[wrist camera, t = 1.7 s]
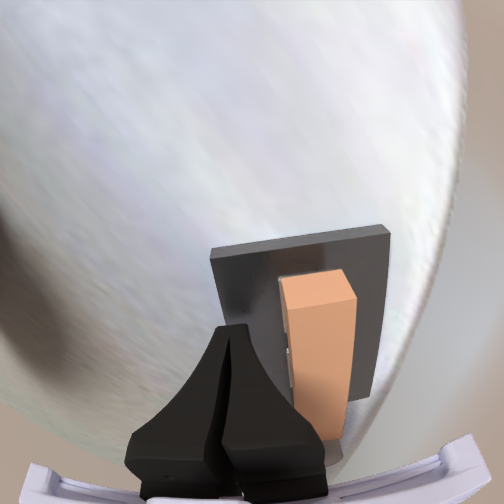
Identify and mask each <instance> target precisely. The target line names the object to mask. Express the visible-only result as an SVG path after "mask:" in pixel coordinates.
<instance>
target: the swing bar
mask: <svg viewBox="0 0 504 504" xmlns="http://www.w3.org/2000/svg"><path fill="white" fill-rule="evenodd" d="M281 282H282V291H283V300H284V309H285V318H286V327H287V337H288V347H289V357H290V367H291V377H292V387H293V398H294V408H295V409H296V410H297V411H298V412H299V413H300V414H301V415H302V416H303V417H304V418H305V419H306V420H308V421H309V422H310V423H311V424H312V426H313V428H314V429H315V431H316V432H317V434H318V435H319V437H320V439H321V441H322V443H323V445H324V448H325V462H324V464H325V467H328V466H331V465H333V464H335V463H337V462H339V461H340V460H341V459H342V458H343V454H342V449H341V445H340V441H339V439H341V438H342V433H343V427H344V421H345V414H346V408H347V400H348V393H349V385H350V377H351V368H352V358H353V348H354V336H355V323H356V307H357V297H356V295H355V293H354V292H353V290H352V288H351V286H350V284H349V282H348V280H347V278H346V277H345V275H344V273H343V271H342V269H338V270H332V271H326V272H319V273H313V274H306V275H300V276H293V277H287V278H281Z"/></svg>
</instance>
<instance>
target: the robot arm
mask: <svg viewBox="0 0 504 504" xmlns="http://www.w3.org/2000/svg"><path fill="white" fill-rule="evenodd" d="M324 462H325V448H324V445H323V443H322V441H321V439H320V437H319V435H318V434H317V432H316V431H315V429H314V428H313V426H312V424H311V423H310V422H309V421H308V420H306V419H305V418H304V417H303V416H302V415H301V414H300V413H299V412H298V411H297V410H296V409H295V408H294V407H293V406H292V405H291V404H290V403H289V402H288V401H287V400H286V398H285V397H284V396H283V395H282V394H281V393H280V391H279V390H278V389H277V387H276V386H275V385H274V383H273V382H272V380H271V379H270V378H269V376H268V374H267V373H266V371H265V369H264V368H263V366H262V364H261V362H260V360H259V358H258V356H257V354H256V352H255V350H254V348H253V345H252V342H251V337H250V332H249V327H248V325H247V324H246V323H242V324H234V325H226V326H218V327H217V328H216V329H215V331H214V334H213V336H212V338H211V340H210V343H209V345H208V347H207V349H206V351H205V352H204V354H203V356H202V358H201V360H200V362H199V363H198V365H197V367H196V368H195V370H194V371H193V373H192V374H191V376H190V377H189V379H188V380H187V382H186V383H185V384H184V386H183V387H182V388H181V390H180V391H179V392H178V393H177V394H176V395H175V397H174V398H173V399H172V400H171V401H170V402H169V403H168V404H167V405H166V406H165V407H164V408H163V409H162V410H161V411H160V412H159V413H158V414H157V415H156V416H155V417H154V418H152V419H151V420H150V421H149V422H147V423H146V424H145V425H143V426H142V427H141V428H139V429H138V430H136V431H135V432H134V433H132V436H131V438H130V441H129V444H128V447H127V451H126V456H125V460H124V463H125V466H126V467H127V468H128V469H129V470H130V471H131V472H132V473H133V474H134V475H135V476H136V477H138V478H139V479H140V480H141V481H142V483H141V489H140V492H135V491H127V490H121V489H115V488H109V487H104V486H99V485H94V484H89V483H84V482H80V481H76V480H72V479H68V478H64V477H61V476H59V474H57V473H56V472H55V471H54V470H52V469H50V468H48V467H45V466H42V465H38V464H35V463H31V465H30V468H29V470H28V474H27V476H26V479H25V482H24V485H23V489H22V491H21V495H20V498H19V503H20V504H459V503H461V502H463V501H465V500H466V499H468V498H469V497H471V496H472V495H473V494H475V493H476V492H477V491H478V490H479V489H481V488H482V487H483V486H485V485H486V484H487V483H488V482H489V481H490V480H491V479H492V477H491V474H490V472H489V470H488V468H487V466H486V463H485V461H484V458H483V456H482V454H481V452H480V450H479V448H478V445H477V443H476V441H475V439H474V437H473V435H472V433H468V434H466V435H464V436H462V437H460V438H457V439H455V440H453V441H450V442H449V443H447V444H445V445H444V446H443V447H442V448H441V449H440V451H439V453H438V454H435V455H433V456H430V457H428V458H425V459H422V460H420V461H417V462H414V463H411V464H408V465H406V466H402V467H399V468H396V469H393V470H390V471H387V472H383V473H380V474H376V475H373V476H369V477H365V478H361V479H358V480H353V481H349V482H344V483H340V484H335V485H330V486H328V485H327V479H326V469H325V464H324Z"/></svg>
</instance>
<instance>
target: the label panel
mask: <svg viewBox="0 0 504 504" xmlns="http://www.w3.org/2000/svg"><path fill="white" fill-rule="evenodd" d="M390 234H391V233H390V232H389V231H388V230H387V229H386V228H385V227H384V226H383V225H382V224H380V225H373V226H365V227H358V228H351V229H344V230H336V231H329V232H322V233H315V234H308V235H301V236H294V237H287V238H280V239H273V240H266V241H259V242H252V243H246V244H239V245H232V246H225V247H218V248H212V250H211V255H210V262H211V266H212V270H213V274H214V279H215V283H216V287H217V291H218V295H219V299H220V303H221V307H222V311H223V315H224V319H225V323H226V325H234V324H242V323H246V324H247V325H248V327H249V332H250V337H251V342H252V345H253V348H254V350H255V352H256V354H257V356H258V358H259V360H260V362H261V364H262V366H263V368H264V369H265V371H266V373H267V374H268V376H269V378H270V379H271V380H272V382H273V383H274V385H275V386H276V387H277V389H278V390H279V391H280V393H281V394H282V395H283V396H284V397H285V398H286V400H287V401H288V402H289V403H290V404H291V405H292V406H293V407H294V398H293V387H292V377H291V367H290V357H289V347H288V337H287V327H286V318H285V309H284V300H283V291H282V282H281V278H287V277H293V276H300V275H306V274H313V273H319V272H326V271H332V270H338V269H342V271H343V273H344V275H345V277H346V278H347V280H348V282H349V284H350V286H351V288H352V290H353V292H354V293H355V295H356V297H357V307H356V323H355V336H354V348H353V358H352V368H351V377H350V385H349V393H348V400H347V402H350V401H354V400H358V399H363V398H367V397H369V396H370V391H371V386H372V381H373V376H374V371H375V366H376V360H377V354H378V348H379V342H380V336H381V329H382V322H383V314H384V306H385V297H386V288H387V278H388V266H389V252H390Z"/></svg>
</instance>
